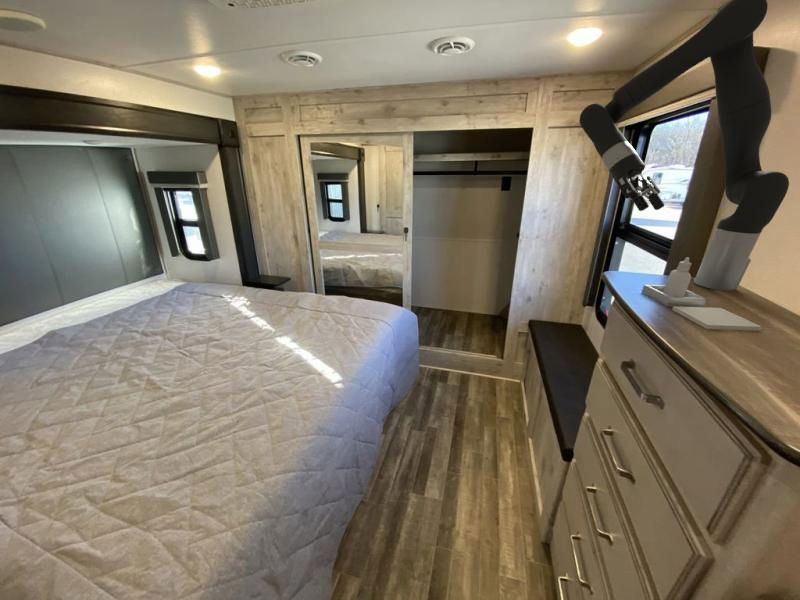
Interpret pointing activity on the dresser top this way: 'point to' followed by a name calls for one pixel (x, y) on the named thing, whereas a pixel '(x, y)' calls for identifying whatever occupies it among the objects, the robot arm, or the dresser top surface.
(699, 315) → the cream pad
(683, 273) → the eye dropper bottle
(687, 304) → the grey square tray
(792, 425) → the dresser top surface
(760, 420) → the dresser top surface
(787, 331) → the dresser top surface
